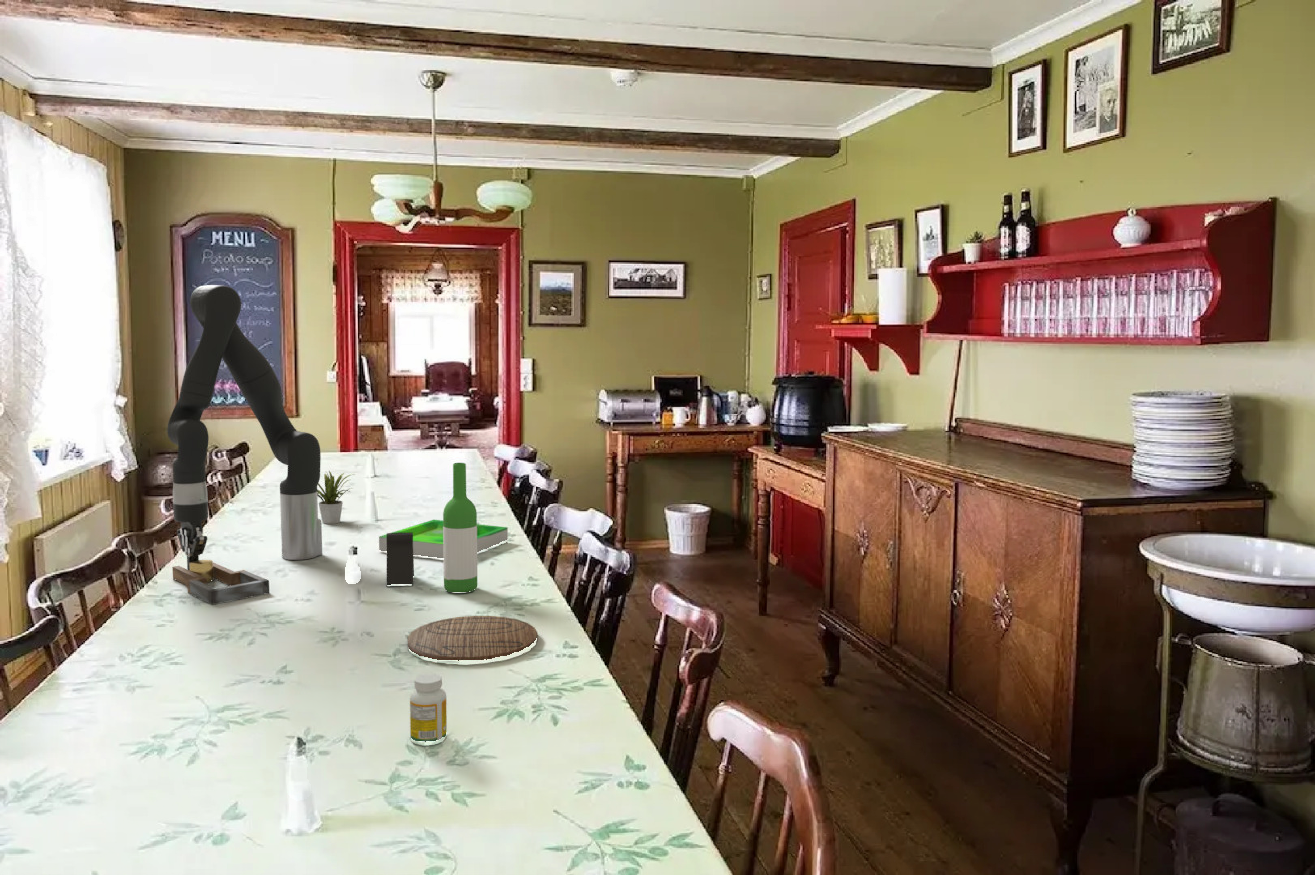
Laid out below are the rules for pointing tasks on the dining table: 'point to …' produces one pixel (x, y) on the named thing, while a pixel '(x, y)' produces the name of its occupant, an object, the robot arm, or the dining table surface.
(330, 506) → the house plant
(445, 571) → the wine bottle
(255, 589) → the chute
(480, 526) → the tray
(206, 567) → the tan rounded block
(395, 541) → the door stopper
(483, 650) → the trivet
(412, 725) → the supplement bottle
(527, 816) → the dining table surface
